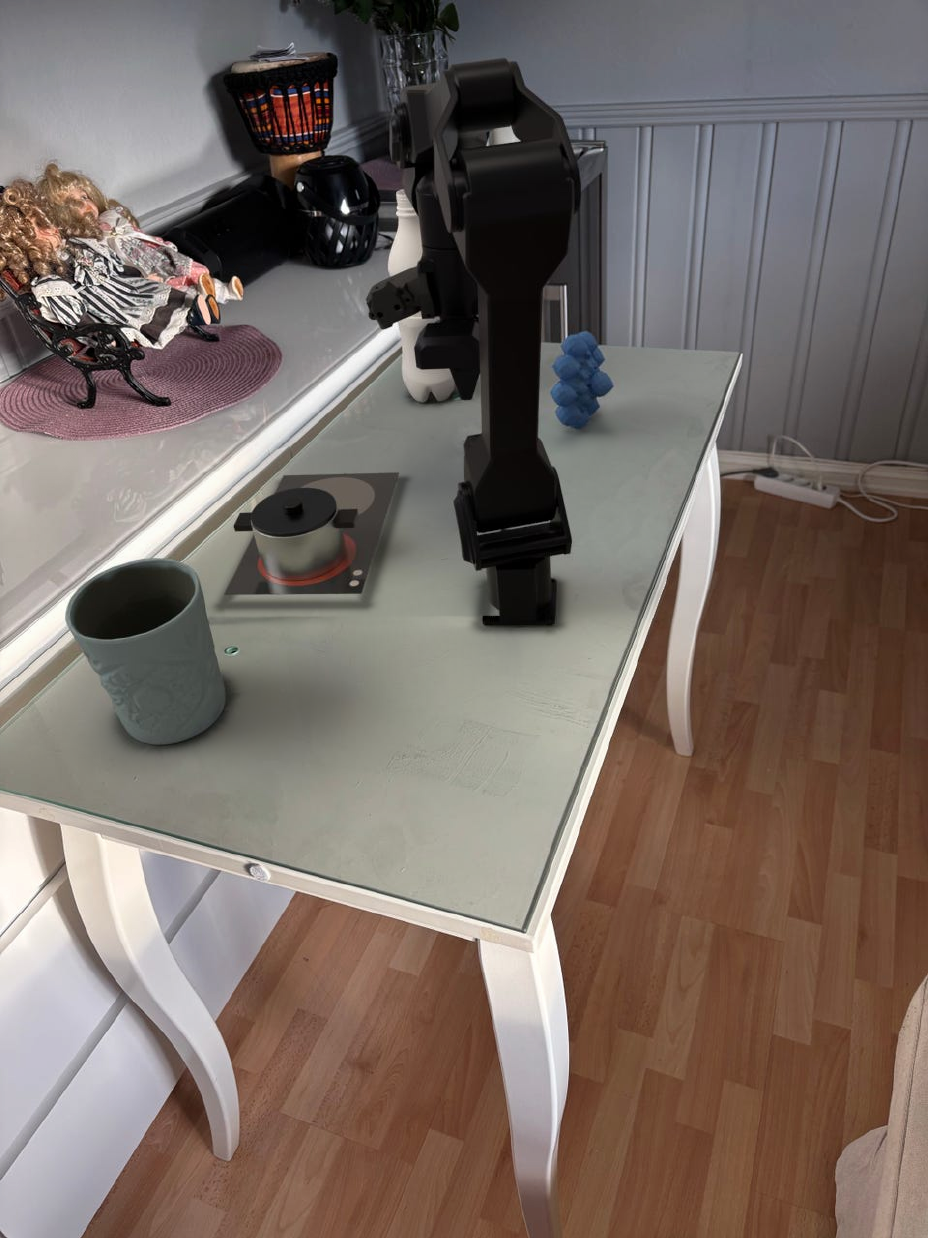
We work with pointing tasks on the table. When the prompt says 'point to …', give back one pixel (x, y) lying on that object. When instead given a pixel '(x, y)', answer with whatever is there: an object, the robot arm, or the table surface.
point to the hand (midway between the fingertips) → (466, 398)
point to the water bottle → (400, 259)
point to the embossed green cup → (151, 647)
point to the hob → (361, 541)
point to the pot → (298, 532)
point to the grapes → (579, 380)
